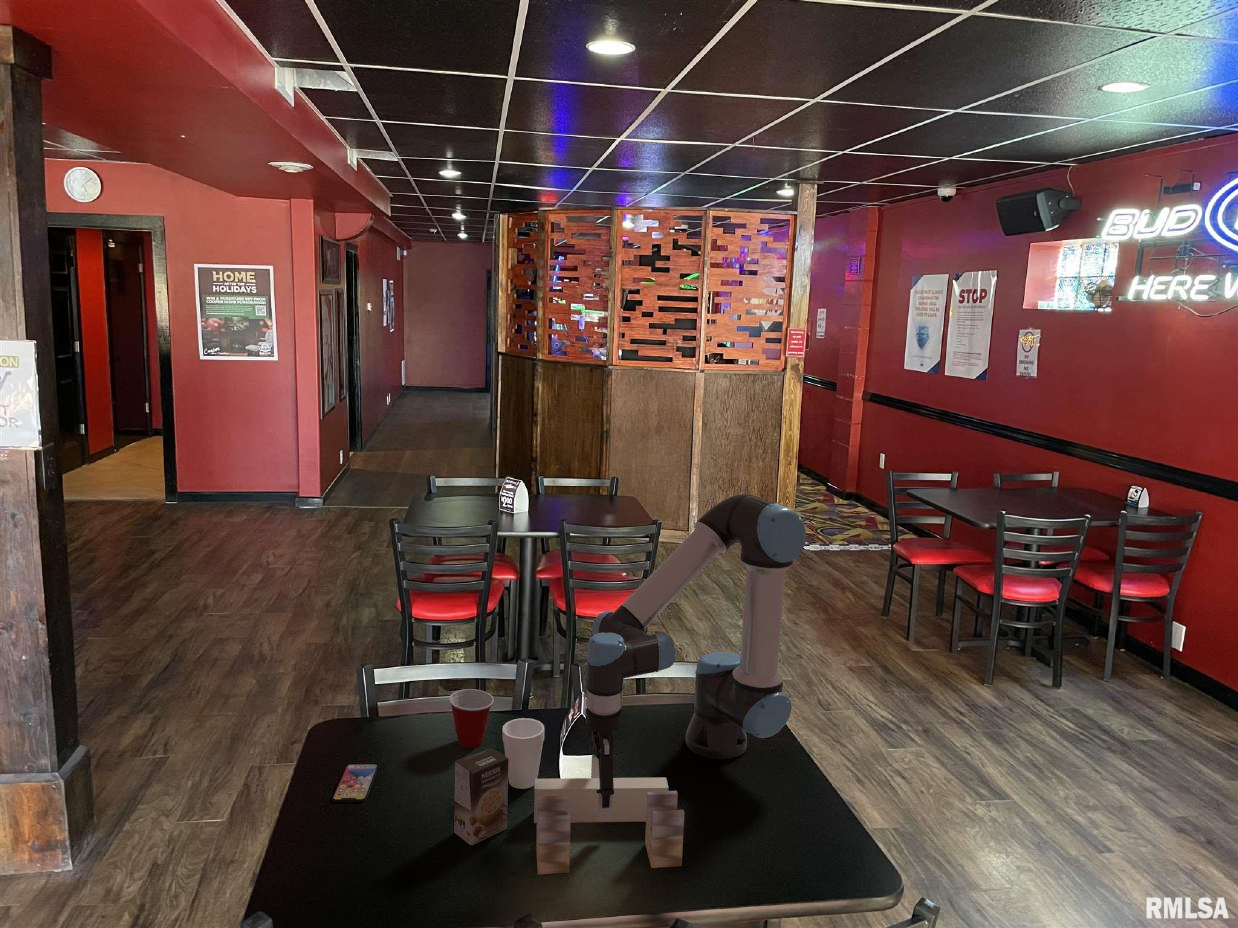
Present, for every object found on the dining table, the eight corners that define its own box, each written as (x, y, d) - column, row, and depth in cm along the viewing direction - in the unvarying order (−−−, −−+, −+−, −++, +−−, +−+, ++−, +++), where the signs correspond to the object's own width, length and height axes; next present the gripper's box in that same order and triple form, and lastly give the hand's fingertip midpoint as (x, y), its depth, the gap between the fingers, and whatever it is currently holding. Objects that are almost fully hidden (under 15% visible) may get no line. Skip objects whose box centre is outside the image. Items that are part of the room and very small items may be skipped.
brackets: (674, 842, 181) (676, 790, 179) (681, 865, 174) (684, 812, 171) (536, 849, 177) (537, 796, 175) (537, 874, 170) (538, 819, 168)
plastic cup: (493, 753, 213) (494, 707, 210) (447, 755, 211) (447, 708, 209) (494, 731, 223) (494, 686, 221) (450, 732, 222) (450, 687, 220)
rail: (664, 810, 192) (666, 777, 191) (666, 821, 188) (668, 787, 187) (534, 812, 190) (534, 778, 189) (534, 823, 186) (534, 789, 185)
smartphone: (379, 763, 206) (365, 799, 191) (379, 767, 206) (365, 803, 192) (346, 763, 206) (330, 799, 191) (346, 767, 206) (330, 803, 191)
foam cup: (547, 771, 206) (548, 719, 203) (539, 794, 197) (540, 740, 194) (506, 768, 207) (507, 716, 204) (497, 790, 198) (497, 736, 195)
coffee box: (471, 847, 177) (471, 773, 174) (453, 832, 182) (453, 760, 179) (508, 828, 184) (509, 757, 181) (490, 815, 188) (490, 745, 185)
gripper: (580, 681, 196) (578, 769, 200) (591, 738, 172) (589, 836, 176) (614, 680, 197) (611, 768, 201) (630, 736, 173) (626, 834, 177)
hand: (600, 800), depth 188 cm, fingers open, 13 cm apart
